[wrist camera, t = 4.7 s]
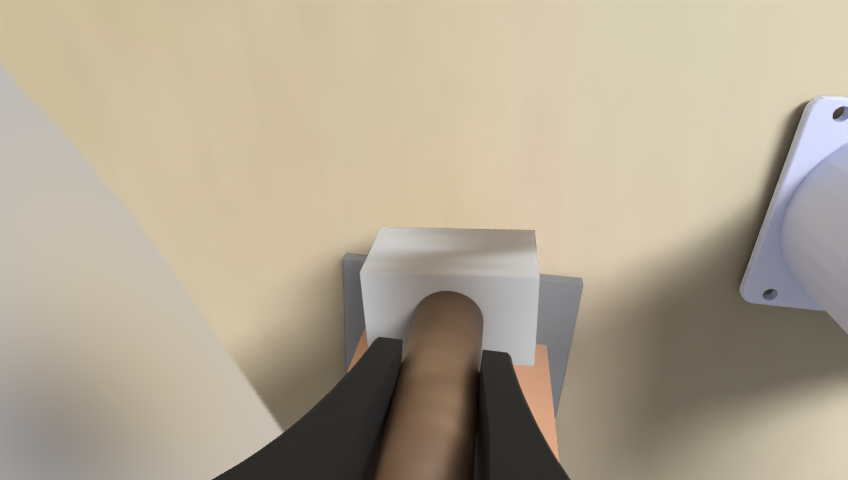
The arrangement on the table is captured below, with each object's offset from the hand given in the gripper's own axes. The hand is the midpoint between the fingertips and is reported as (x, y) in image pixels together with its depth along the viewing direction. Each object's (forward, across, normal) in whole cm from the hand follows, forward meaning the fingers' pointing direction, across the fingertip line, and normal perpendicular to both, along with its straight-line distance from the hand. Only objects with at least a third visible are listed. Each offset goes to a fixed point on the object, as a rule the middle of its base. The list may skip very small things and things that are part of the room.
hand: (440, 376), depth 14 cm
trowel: (+5, 0, 0) cm, 5 cm away
